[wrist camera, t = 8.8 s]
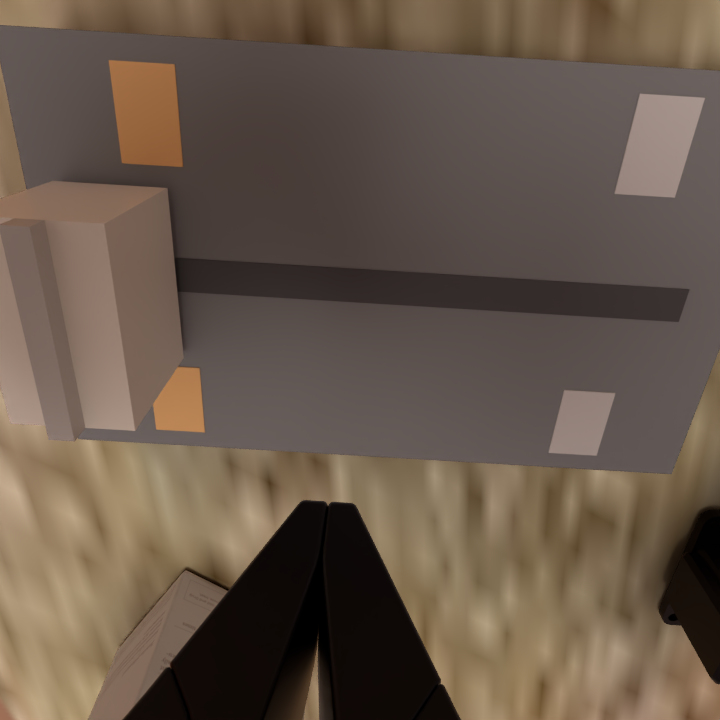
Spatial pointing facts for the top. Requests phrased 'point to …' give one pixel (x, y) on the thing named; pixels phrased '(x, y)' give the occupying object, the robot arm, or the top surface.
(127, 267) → the fader
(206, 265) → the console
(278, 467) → the top surface
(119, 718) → the supplement box
